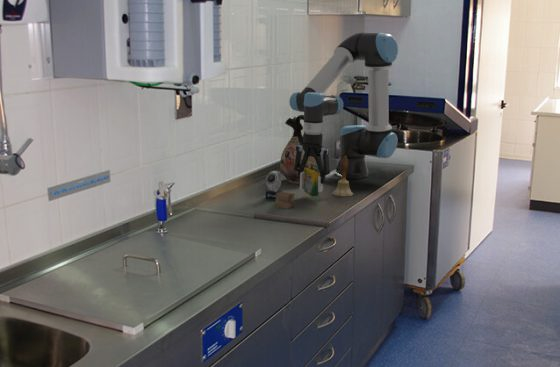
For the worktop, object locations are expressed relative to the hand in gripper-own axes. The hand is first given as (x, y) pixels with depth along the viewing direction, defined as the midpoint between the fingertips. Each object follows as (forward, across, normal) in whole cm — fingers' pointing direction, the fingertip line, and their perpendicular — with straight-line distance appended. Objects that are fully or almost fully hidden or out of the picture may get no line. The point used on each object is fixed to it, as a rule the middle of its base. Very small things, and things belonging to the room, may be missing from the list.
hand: (311, 189), depth 262 cm
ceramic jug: (+4, -18, +22) cm, 29 cm away
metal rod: (+4, +9, -31) cm, 33 cm away
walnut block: (+4, -3, -15) cm, 16 cm away
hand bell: (+4, +7, +15) cm, 17 cm away
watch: (+4, -12, -8) cm, 15 cm away
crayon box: (+2, 0, 0) cm, 2 cm away
